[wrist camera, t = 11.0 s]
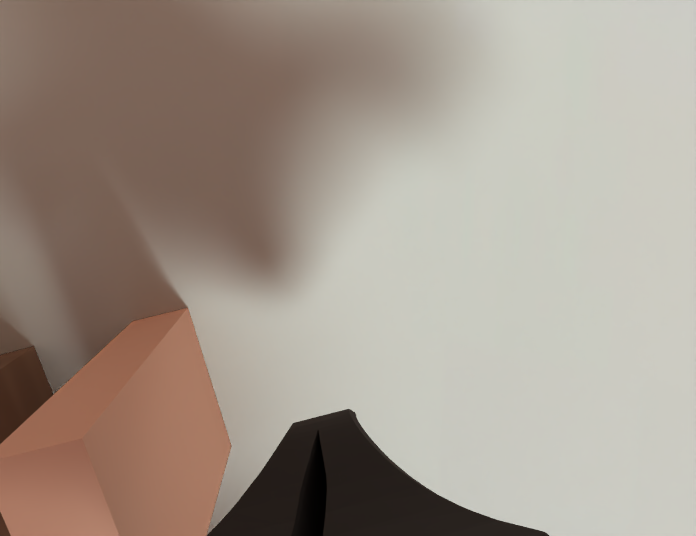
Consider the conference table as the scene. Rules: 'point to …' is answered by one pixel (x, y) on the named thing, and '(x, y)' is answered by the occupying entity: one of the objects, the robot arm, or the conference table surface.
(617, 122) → the conference table surface
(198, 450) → the tile
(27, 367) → the brown rectangular block
